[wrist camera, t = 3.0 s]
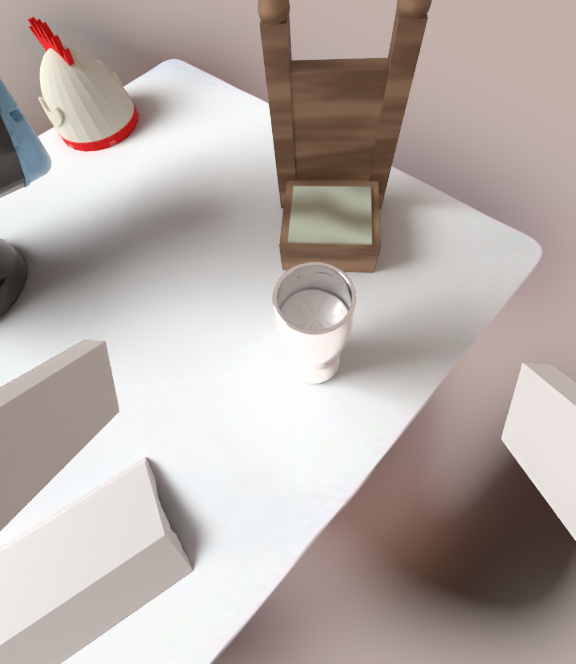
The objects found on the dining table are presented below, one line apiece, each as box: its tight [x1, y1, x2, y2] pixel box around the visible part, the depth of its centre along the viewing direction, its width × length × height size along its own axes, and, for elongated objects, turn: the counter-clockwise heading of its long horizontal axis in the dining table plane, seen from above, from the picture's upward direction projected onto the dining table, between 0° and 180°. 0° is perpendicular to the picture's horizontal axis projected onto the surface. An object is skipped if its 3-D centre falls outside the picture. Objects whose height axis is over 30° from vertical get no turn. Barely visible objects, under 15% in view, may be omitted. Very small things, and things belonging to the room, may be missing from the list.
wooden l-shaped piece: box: [258, 0, 432, 273], centre depth 37 cm, size 13×15×24 cm
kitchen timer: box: [28, 17, 138, 151], centre depth 54 cm, size 14×14×15 cm
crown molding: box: [0, 457, 193, 664], centre depth 31 cm, size 29×12×4 cm, turn 122°
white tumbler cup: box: [273, 262, 356, 384], centre depth 33 cm, size 7×7×15 cm
